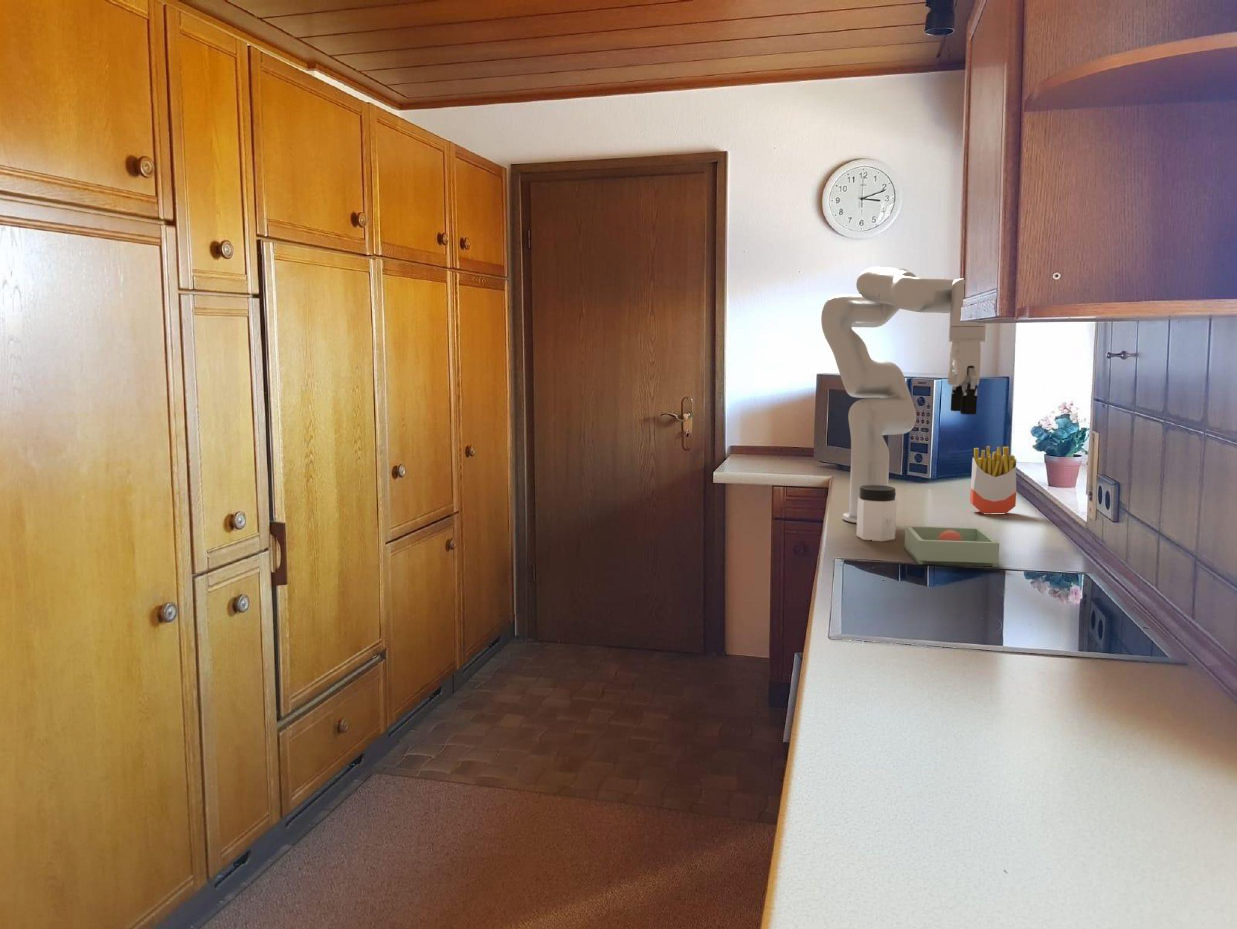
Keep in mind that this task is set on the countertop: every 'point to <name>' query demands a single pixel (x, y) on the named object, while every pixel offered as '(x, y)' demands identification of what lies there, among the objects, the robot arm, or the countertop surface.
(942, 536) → the tomato ball
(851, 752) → the countertop surface
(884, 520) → the jar
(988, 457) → the french fries container
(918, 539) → the green bin
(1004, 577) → the countertop surface
